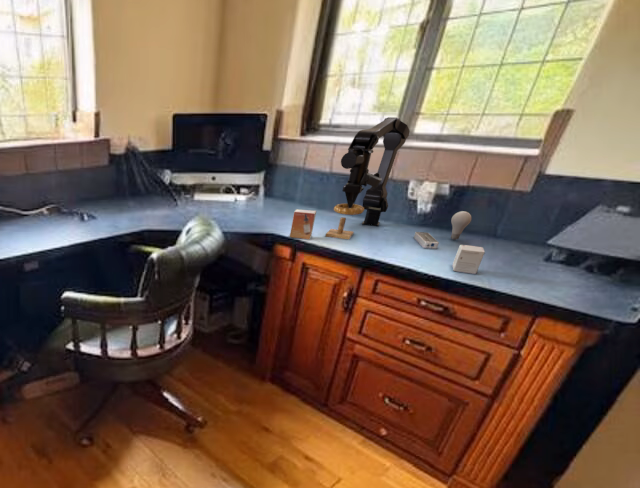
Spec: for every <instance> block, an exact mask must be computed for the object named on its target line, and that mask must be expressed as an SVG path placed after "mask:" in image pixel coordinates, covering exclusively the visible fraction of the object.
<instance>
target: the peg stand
mask: <svg viewBox="0 0 640 488" xmlns="http://www.w3.org/2000/svg"><path fill="white" fill-rule="evenodd" d="M339 218H340V219H339V222H338V227H337V229H336V228H330V229H329V230H328V231H327V232H326V233H325V237H326V238H334V239H342V240H350V239H351V238H352V237H353V236H354V233H355V232H354V231H352V230H345V225H346V220H347V219H346V217H345V216H344V217H339Z"/></svg>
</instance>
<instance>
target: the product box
mask: <svg viewBox="0 0 640 488" xmlns="http://www.w3.org/2000/svg"><path fill="white" fill-rule="evenodd" d="M485 254H486V253H485V249H484V247H483V246H477V245H466V244H460V245H459V247H458V249H457V252H456V254H455V257H454V259H453V262H452V271H453V272H458V273H459V272H460V273H465V274H471V275H472V274H473V275H477V273H478V271H479V268H480V265H481V263H482V260H483V258H484V255H485Z"/></svg>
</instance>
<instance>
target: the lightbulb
mask: <svg viewBox="0 0 640 488" xmlns="http://www.w3.org/2000/svg"><path fill="white" fill-rule="evenodd" d="M450 220H451V226H452V230H451V236H450V239H452V240H453V241H456V240H459V239H460V237H461V234H462V233H463V231H464V230H465V228H466V227H467V226H468V225H469V224H471V222H472V215H471V214H470V213H469V212H468V211H463V210H461V211H458V212H456V213H454V214H453V215H452V217H451V219H450Z"/></svg>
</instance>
